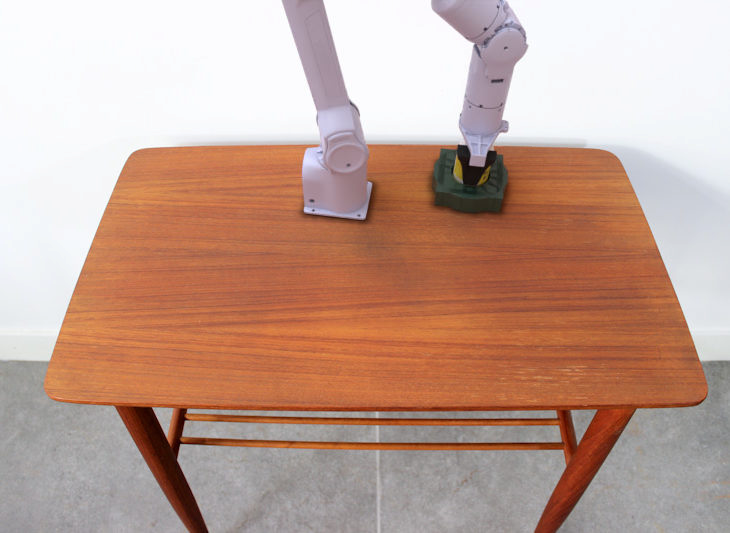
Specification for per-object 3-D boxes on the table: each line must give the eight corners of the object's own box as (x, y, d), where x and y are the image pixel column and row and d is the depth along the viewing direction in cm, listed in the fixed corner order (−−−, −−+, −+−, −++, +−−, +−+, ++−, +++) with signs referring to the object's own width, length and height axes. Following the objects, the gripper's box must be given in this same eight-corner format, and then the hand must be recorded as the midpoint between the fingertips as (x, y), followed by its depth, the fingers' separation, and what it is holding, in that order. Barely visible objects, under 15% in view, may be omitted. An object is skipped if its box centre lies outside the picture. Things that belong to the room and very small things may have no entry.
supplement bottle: (484, 197, 93) (496, 147, 85) (449, 191, 93) (458, 142, 86) (487, 173, 96) (499, 124, 88) (453, 168, 97) (462, 119, 89)
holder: (429, 208, 92) (431, 194, 90) (434, 158, 99) (436, 144, 97) (504, 216, 91) (507, 202, 89) (504, 166, 98) (507, 152, 96)
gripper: (515, 132, 77) (496, 206, 88) (515, 68, 86) (497, 142, 97) (460, 127, 78) (448, 201, 88) (465, 63, 87) (453, 138, 97)
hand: (470, 170), depth 93 cm, fingers closed on supplement bottle, 5 cm apart
